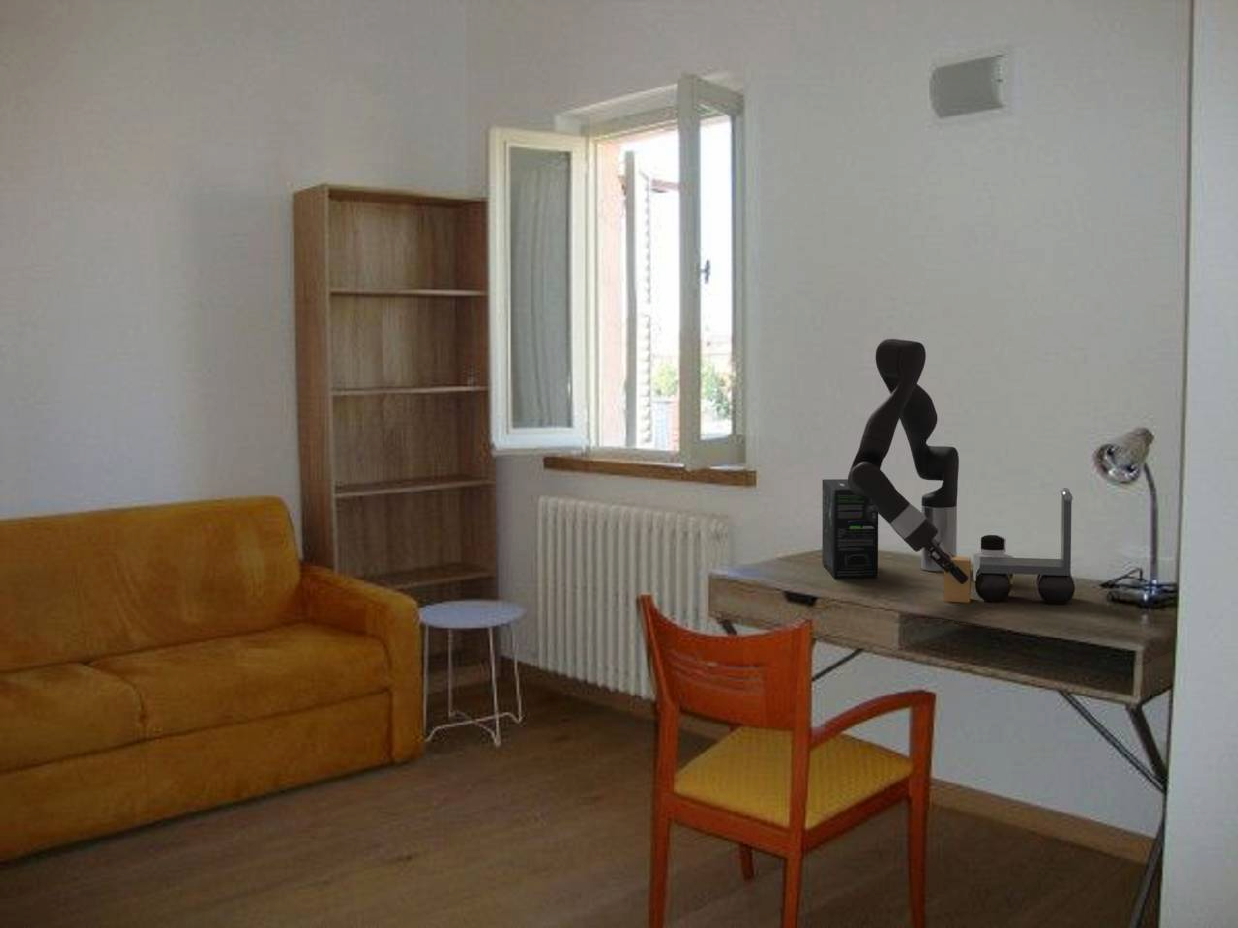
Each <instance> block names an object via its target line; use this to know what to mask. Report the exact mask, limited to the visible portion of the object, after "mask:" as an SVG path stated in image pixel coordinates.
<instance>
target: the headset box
mask: <svg viewBox="0 0 1238 928" xmlns="http://www.w3.org/2000/svg"><path fill="white" fill-rule="evenodd" d="M821 482H822V543H821V544H822V546H821V547H822V550H821V551H822V564H823V565H824V567H825V568H826V570H827V571H828V572H829V574H830V575H831V576H832V577H833V579H834V580H863V579H864V580H871V579H872V580H873V579H875V580H876V579H879V513H878V512H877V511H876V509H875V505H874V503H873V502H872V501H871V500H870V499H869V498H868V497H867V496H866V495H859V494H856V493H854V492H853V491H852V490H851V489H850V487H849V485H848V478H845V479H843V478H842V479H838V478H836V479H835V478H833V479H829V478H827V479H822V481H821Z"/></svg>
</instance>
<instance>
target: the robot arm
mask: <svg viewBox="0 0 1238 928" xmlns="http://www.w3.org/2000/svg"><path fill="white" fill-rule="evenodd" d="M926 353H927V352H926V349H925V346H924V344H923V343H921V342H919V341H914V340H907V339H906V340H905V339H897V338H886V339H883V340H881V341H880V342H879V344H878V345H877V346H876V350H875V365H876V369H877V371H878V373H879V375H880V377H881V379H882V380H883V382H884V385H885V386H886V388H887V390H888V392H889V394H890V395H889V396H887V398H886V399H885V400H884V401H883V402H882V403H881V404H880V405H878V407H876V409H875V410H873V412H872V413H871V414H870V415H869V418H868V419H867V422H866V423H865V426H864V428H863V429H864V430H863V433H862V435H861V436H862V437H861V440H860V444H859V447H858V449H857V450H858V451H857V453H856V455H855V457H854V460H853V462H852V465H851V467H850V469H849V473H848V476H847V479H848V485H849V487H850V489H851V490H852V491H853V492H854V493H856V494H859V495H866V496H867V497H868V498H869V499H870V500H871V501H872V502H873V503H874V505H875V509H876V511H877V512H878V515H880V517H881V518H882V519H883V520H885V521H886V522H887V524H889V525H890V527H891V528H892V529H893V531H894V532H895V533H896V534H897V535H898V536H899V537H900V538H901V539H902V540H903V541H904V542H905V543H906V544H907V545H908V546H909V547H910V548H911V549H912V550H913V551H914V552H917V553H918V552H920V551H921V558H920V559H921V560H920V561H921V562H920V563H921V565H920V566H921V567H920V568H921V569H922V570H924V571H929V572H944V570H945V572H947V573H951V574H952V575H953V576H954V577H955V578H956V579H957V580H958V581H959V582H960V583H961V584H964V583H965V582H966V581H967V580H968V576H967V575H966V574H964V573H963V572H962V571H961V570H960V569H959V568H958V567H957V565H956V564H955V563H954V562H953V561H952V557H958V556H957V553H958V552H957V551H958V549H957V546H958V545H957V544H958V543H957V540H958V539H957V538H958V536H957V535H958V534H957V533H958V527H957V526H958V523H957V522H958V513H957V512H958V506H957V505H958V503H957V502H958V490H959V488H958V486H959V485H958V481H959V471H960V470H959V469H960V468H959V467H960V466H959V465H960V456H959V453H958V450H957V448H956V447H954V446H945V445H944V446H940V445H937V446H934V445H929V444H927V441H928V439H929V438H930V436H931V435H932V434H933V432H934V431H935V429H936V427H937V424H938V420H939V419H938V414H937V413H938V412H937V410H936V407H935V404H934V402H933V399H932V397H931V396H930V395H929V393H928V392H927V391H926V390H925V389H924V388H923V387H921V386H920V385H919V384H918V382H919V380H920V377H921V375H922V373H923V371H924V367H925V365H926V358H927V357H926V356H927V354H926ZM899 422H900V423H901V425H902V428H903V430H904V433H905V435H906V438H907V441H908V443H909V448H910V452H911V455H912V460H913V463H914V468H915V470H916V474H917V476H918V477H919V478H920V479H922V480H925V481H942V485H941V487H939V488H938V489H937V490H934V491H931V492H928V493H925V494H923V495H922V496H921V510H919V509H918V508H916V507H915V506H914V505H913V504H911V502H910V501H908V499H906V498H905V497H904V496H903V495H902V493H900V492H899V491H898V490H897V489H896V488H895V486H894V484H893V483H892V482H891V480H890V479H889V478H888V476H887V475H886V474H885V473H884V472H883V470H881V468H882V465H883V462H884V460H885V458H886V456H887V454H888V453H889V450H890V447H891V445H892V441H893V438H894V436H895V435H894V434H895V433H896V432H895V431H896V428H897V426H898V423H899ZM947 562H948V563H949V565H948V566H947V567H946V565H945V564H946V563H947ZM956 567H957V568H956Z"/></svg>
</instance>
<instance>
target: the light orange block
mask: <svg viewBox="0 0 1238 928" xmlns="http://www.w3.org/2000/svg"><path fill="white" fill-rule="evenodd" d="M952 561H953V562H954V563H955V564H956V565H957V567H958V568H959V569H960V570H961V571H962V572H963V573H964V574H966V575H967V576H968V580H967V581H966V582H965V583H964V584H961V583H960V582H959V581H958V580H957V579H956V578H955V577H954V576H953V575H952V574H951V573H947V572H945V570H944V571H943V602H948V603H949V602H950V603H951V602H952V603H969V602H970V603H971V600H970V599H972V596H971V595H972V593H971V591H972V590H971V589H972V588H971V586H972V583H971V582H972V579H971V578H972V574H971V573H972V572H971V571H972V570H971V568H972V564H971V563H972V558H971V556H970V557H968V556H957V557H952ZM945 565H946V567H947V566H948V565H949V563H948V562H947V563H946V564H945ZM957 567H956V568H957Z"/></svg>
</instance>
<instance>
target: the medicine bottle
mask: <svg viewBox="0 0 1238 928" xmlns="http://www.w3.org/2000/svg"><path fill="white" fill-rule="evenodd" d="M1006 541H1007V540H1006V538H1005V537H1004V536H1002V535H997V534H987V535H986V534H985V535H984V536H982V537H980V552H978V553H973V560H972V561H973V565H972V567H973V568H972V569H973V572H972V574H973V575H972V579H973V582H975V579H976V573H977V570H978V569H979V567H980V557H1005V558H1014V557H1013V556H1012V555H1010V554H1006V549H1007V548H1006V545H1007V544H1006V543H1007V542H1006ZM1013 575H1014V574H1010V582H1011V585H1012V584H1013V583H1014V576H1013Z"/></svg>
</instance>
